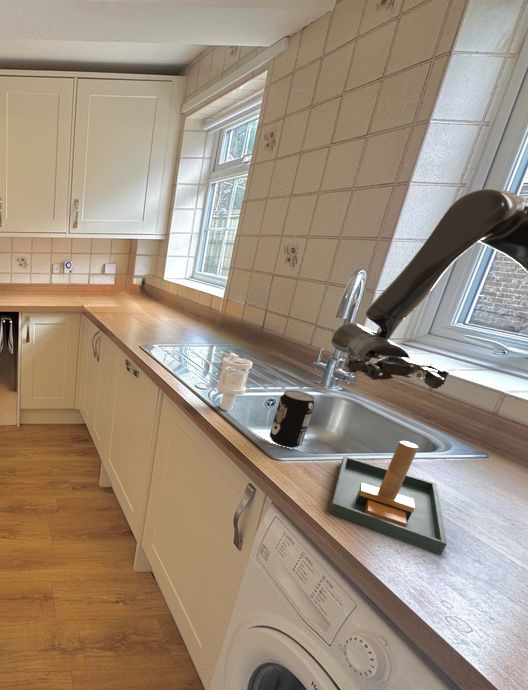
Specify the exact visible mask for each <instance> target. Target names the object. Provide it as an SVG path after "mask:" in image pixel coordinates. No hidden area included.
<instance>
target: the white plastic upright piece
mask: <svg viewBox="0 0 528 690" xmlns="http://www.w3.org/2000/svg"><path fill="white" fill-rule="evenodd" d="M221 364H222V367H221V371H220V374H219V375H220V376H219V380H218V381H217V383H216V389H217V390H218V391H220V392H222V397H221V401H220V406H219V408H220V409H221V410H224V411H229V412H231V411H232V410H233V407H234V404H235V401H236V397H237V396H242V395H245V394H246V390H247V388H246V385H247V381H248V377H249V373H250V370H251V369H252V368H253V364H254V362H253V361H252V360H249V359H246V358H241V357H240V356H239V355H238V354H236V353H234V352H229V354H228V356H225V357H223V358H222V362H221ZM243 370H244V371H243Z"/></svg>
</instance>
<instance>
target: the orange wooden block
mask: <svg viewBox="0 0 528 690" xmlns="http://www.w3.org/2000/svg"><path fill="white" fill-rule="evenodd" d="M365 513H366V514H369V515H372V516H374V517H377V518H380V519H383V520H385V521H388V522H391V523H394V524H397V525H399V526H402V527H406V525H407V520H406V512H403V511H400V510H397V509H394V508H391V507H388V506H385V505H382V504H379V503H376V502H373V501H370V500H368V501H367V504H366V506H365Z"/></svg>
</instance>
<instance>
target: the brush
mask: <svg viewBox="0 0 528 690" xmlns="http://www.w3.org/2000/svg"><path fill="white" fill-rule="evenodd" d="M418 449H419V445H417V444H416V443H414V442H410V441H406V440H400V441H399V442H398V443H397V446H396V447H395V451H394V452H393V455H392V458H391V461H390V463H389V465H388V467H387V469H388V470H387V472H386V474H385V477H384V479H383V481H382V484H381V486H380V488H377V487H374V486H371V485H368V484H364V483H361V484H360V488H359V492H358V494H357V501H356V503H357V504H360V505H363V506H366V504H367V501H368V500H370V501H373V502H376V503H379V504H382V505H385V506H388V507H391V508H394V509H397V510H400V511H403V512H406V520H407V521H408V520H409V518H410V516H411V513H413V512H414V510H415V504H414V499H412V498H409V497H406V496H402V495H399V494H398V492H399V490H400V488H401V486H402V483H403V481H404V479H405V477H406V475H408V472H409V469H410V467H411V465H412V463H413V460H414V458H415V456H416V454H417V452H418Z"/></svg>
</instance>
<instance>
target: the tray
mask: <svg viewBox="0 0 528 690" xmlns="http://www.w3.org/2000/svg"><path fill="white" fill-rule="evenodd" d="M387 470H388V468H386V467H382V466H378V465H375V464H372V463H369V462H365V461H362V460H359V459H356V458H352V457H349V456H345V455H344V456H343V457H342V460H341V463H340V466H339V470H338V474H337V478H336V483H335V486H334V490H333V495H332V499H331V503H330V507H329V511H328V513H329V514H331V515H333V516H336V517H339V518H341V519H344V520H347V521H349V522H352V523H355V524H358V525H361V526H363V527H366V528H368V529H371V530H373V531H375V532H376V531H377V532H379V533H382V534H384V535H386V536H389V537H392V538H395V539H398V540H400V541H403V542H405V543H409V544H411V545H414V546H416V547H418V548H422V549H424V550H427V551H430V552H432V553H435V554H437V555H440V556H441V555H442V554H443V553H444V550H445V548H446V547H447V545H448V544H447V538H446V533H445V527H444V521H443V516H442V509H441V503H440V497H439V492H438V486H437V483H435V482H432V481H429V480H425V479H422V478H419V477H415V476H412V475H409V474H406V477H405V479H404V481H403V483H402V486H401V488H400V490H399V492H398V494H399V495H402V496H406V497H409V498H412V499H414V504H415V510H414V512H413V513H411V516H410V518H409V520H408V521H407V525H406V527H402V526H399V525H397V524H394V523H391V522H388V521H385V520H383V519H380V518H377V517H374V516H372V515H369V514H366V513H365V506H363V505H360V504H357V503H356V501H357V494H358V492H359V488H360V484H361V483H364V484H368V485H371V486H374V487H377V488H380V486H381V484H382V481H383V479H384V477H385V474H386V472H387Z"/></svg>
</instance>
